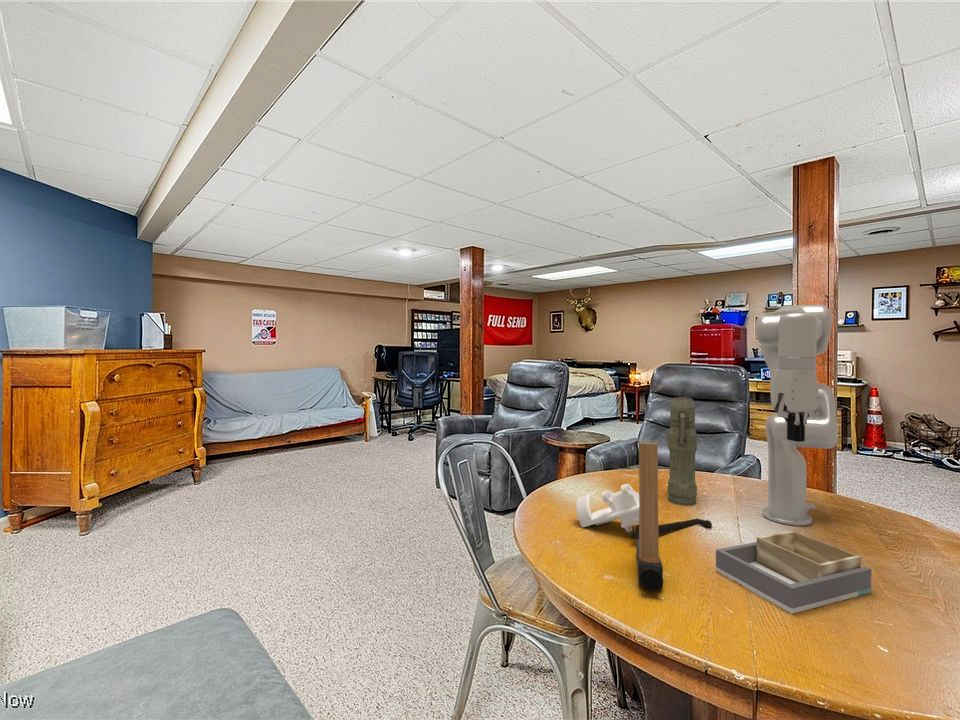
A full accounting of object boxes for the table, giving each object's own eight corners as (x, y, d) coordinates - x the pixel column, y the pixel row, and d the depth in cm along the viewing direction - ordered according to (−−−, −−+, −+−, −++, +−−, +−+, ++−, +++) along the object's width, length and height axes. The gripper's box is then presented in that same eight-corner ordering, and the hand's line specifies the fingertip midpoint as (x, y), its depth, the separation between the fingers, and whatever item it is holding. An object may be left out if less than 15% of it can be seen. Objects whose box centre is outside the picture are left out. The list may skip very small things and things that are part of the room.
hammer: (636, 563, 113) (635, 441, 118) (657, 566, 111) (656, 442, 116) (638, 589, 94) (638, 442, 99) (664, 592, 92) (662, 443, 97)
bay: (787, 555, 112) (788, 535, 112) (870, 592, 95) (871, 569, 95) (715, 570, 104) (715, 549, 104) (791, 613, 87) (792, 588, 87)
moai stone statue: (693, 496, 157) (694, 396, 156) (699, 508, 146) (700, 399, 145) (666, 494, 159) (666, 395, 159) (669, 505, 148) (670, 399, 147)
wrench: (713, 535, 130) (643, 552, 114) (697, 530, 134) (627, 545, 119) (713, 516, 130) (643, 531, 114) (697, 512, 134) (627, 525, 119)
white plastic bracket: (588, 547, 128) (568, 503, 131) (602, 534, 137) (584, 492, 141) (653, 530, 118) (630, 482, 121) (664, 516, 127) (642, 472, 130)
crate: (793, 553, 110) (793, 530, 110) (860, 583, 96) (860, 556, 96) (756, 561, 106) (756, 537, 106) (820, 593, 92) (821, 565, 92)
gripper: (803, 363, 115) (802, 435, 115) (759, 364, 110) (758, 440, 110) (834, 364, 108) (833, 441, 108) (789, 365, 103) (788, 446, 103)
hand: (795, 440), depth 109 cm, fingers closed
